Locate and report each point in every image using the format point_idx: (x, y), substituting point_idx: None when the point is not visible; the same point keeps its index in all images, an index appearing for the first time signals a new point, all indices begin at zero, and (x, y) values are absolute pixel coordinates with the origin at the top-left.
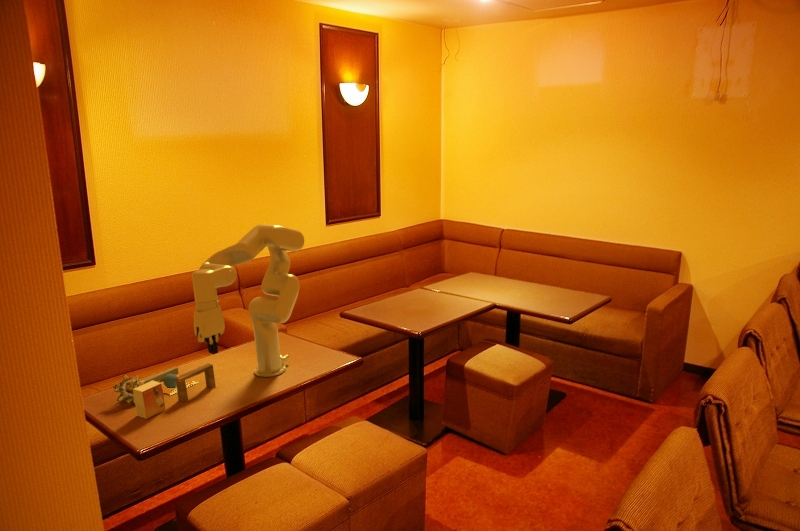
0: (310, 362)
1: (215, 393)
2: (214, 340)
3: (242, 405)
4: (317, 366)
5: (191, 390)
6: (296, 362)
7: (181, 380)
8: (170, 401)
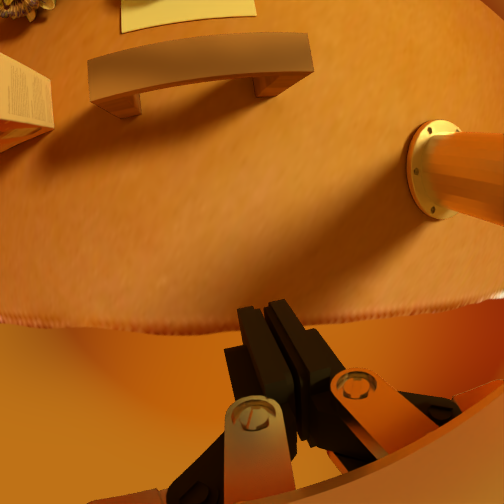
0: None
1: (241, 148)
2: (328, 450)
3: None
4: (485, 257)
5: None
6: None
7: (99, 101)
8: None
